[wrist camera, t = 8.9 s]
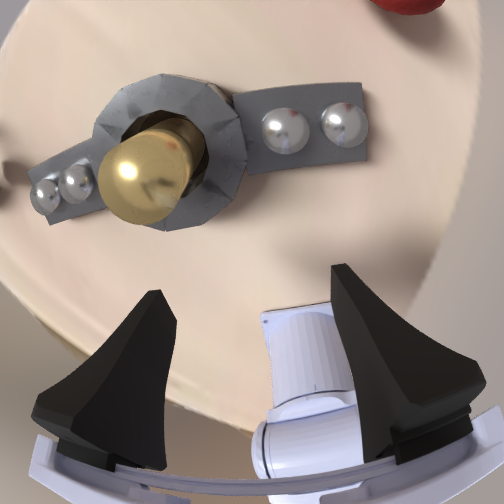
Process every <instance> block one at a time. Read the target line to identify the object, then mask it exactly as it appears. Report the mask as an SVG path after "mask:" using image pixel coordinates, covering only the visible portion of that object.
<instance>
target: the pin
mask: <svg viewBox="0 0 504 504" xmlns="http://www.w3.org/2000/svg"><path fill="white" fill-rule="evenodd" d="M203 154H204V139H203V136H202V134H201V132H200V131H199V129H198V128H197V127H196V126H195V125H194V124H193V123H191V122H189V121H187V120H185V119H181V118H170V119H166V120H164V121H162V122H160V123H158V124H156V125H154V126H152V127H150V128H148V129H146V130H144V131H142V132H140V133H138V134H137V135H135V136H133V137H131V138H129V139H128V140H126V141H124V142H122V143H121V144H119V145H117V146H116V147H114V148H113V149H111V150H110V151H109V152H108V153H107V155H106V156H105V157H104V159H103V161H102V163H101V165H100V168H99V172H98V187H99V191H100V194H101V197H102V199H103V201H104V203H105V204H106V206H107V207H108V208H109V210H110V211H111V212H112V213H113V214H115V215H116V216H117V217H119V218H120V219H122V220H124V221H126V222H129V223H132V224H137V225H149V224H153V223H156V222H159V221H161V220H163V219H164V218H165V217H167V216H168V215H169V214H170V213H171V212H172V210H173V209H174V207H175V206H176V204H177V202H178V200H179V198H180V196H181V194H182V193H183V191H184V189H185V187H186V185H187V184H188V182H189V180H190V178H191V176H192V175H193V173H194V171H195V169H196V168H197V166H198V164H199V163H200V161H201V159H202V157H203Z"/></svg>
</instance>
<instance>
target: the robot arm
mask: <svg viewBox="0 0 504 504" xmlns="http://www.w3.org/2000/svg"><path fill="white" fill-rule="evenodd" d="M260 320H261V324H262V328H263V333H264V337H265V341H266V345H267V349H268V353H269V357H270V361H271V377H272V395H273V409H270V410H267V420H266V421H262V422H261V423H260V424H259V425H258V427H257V429H256V430H255V432H254V434H253V438H252V460H253V465H254V469H255V471H256V474H257V475H258V477H259V478H260V479H211V478H197V477H186V476H178V475H170V474H163V473H158V472H152V471H146V470H141V469H137V468H142V469H145V468H146V469H151V470H158V471H162V470H164V469H165V468H166V467H167V462H166V454H165V443H164V404H165V390H166V384H167V378H168V374H169V369H170V364H171V359H172V355H173V350H174V345H175V339H176V327H177V320H176V318H175V316H174V314H173V312H172V311H171V309H170V307H169V305H168V303H167V301H166V299H165V297H164V295H163V293H162V291H161V289H160V290H151V291H148V292H147V293H146V294H145V295H144V296H143V298H142V299H141V300H140V301H139V302H138V304H137V305H136V306H135V307H134V308H133V310H132V311H131V312H130V313H129V315H128V316H127V317H126V318H125V319H124V321H123V322H122V323H121V324H120V326H119V327H118V328H117V329H116V330H115V331H114V332H113V334H112V335H111V336H110V337H109V338H108V339H107V340H106V342H105V343H104V344H103V345H102V346H101V347H100V348H99V349H98V350H97V351H96V352H95V353H94V354H93V355H92V356H91V357H90V358H89V359H88V360H86V361H85V362H84V363H83V364H82V365H81V366H79V367H78V368H77V369H76V370H75V371H73V372H72V373H71V374H70V375H68V376H67V377H66V378H65V379H63V380H61V381H60V382H58V383H57V384H55V385H54V386H52V387H50V388H49V389H47V390H45V391H44V392H42V393H40V394H39V395H38V397H37V400H36V403H35V405H34V408H33V412H32V414H31V418H32V419H33V421H35V422H36V423H37V424H39V425H40V426H41V427H43V428H45V429H46V430H47V431H49V432H51V433H52V434H54V435H55V436H57V437H59V442H56V441H54V440H52V439H50V438H47V437H45V436H43V435H41V434H38V437H37V440H36V444H35V448H34V452H33V456H32V460H31V464H30V470H29V476H31V477H32V478H33V479H35V480H37V481H39V482H40V483H42V484H43V485H45V486H46V487H48V488H49V489H51V490H52V491H54V492H56V493H57V494H59V495H60V496H62V497H63V498H65V499H66V500H68V501H70V502H71V503H73V504H190V501H191V500H190V499H188V498H182V497H177V496H172V495H168V494H163V493H158V492H153V491H150V489H149V487H148V486H151V487H156V488H162V489H168V490H174V491H181V492H188V493H197V494H208V495H224V496H268V497H269V501H270V503H272V504H442V503H444V502H445V501H447V500H449V499H451V498H452V497H454V496H455V495H457V494H459V493H460V492H462V491H464V490H465V489H467V488H468V487H470V486H471V485H473V484H474V483H476V482H477V481H479V480H480V479H482V478H483V477H485V476H486V475H488V474H489V473H490V472H492V471H493V470H495V469H496V468H497V467H499V466H500V465H501V464H503V463H504V418H503V415H502V412H501V410H500V407H499V405H498V404H496V405H494V406H493V407H491V408H489V409H488V410H486V411H484V412H483V413H481V414H479V415H477V416H476V417H474V418H473V419H471V420H470V417H469V413H471V407H470V405H469V404H470V403H471V402H472V400H474V399H475V398H476V397H477V396H478V395H479V393H481V392H482V390H483V389H484V388H485V386H486V380H485V378H484V375H483V373H482V371H481V369H480V367H479V365H478V363H477V362H476V361H475V360H472V359H470V358H468V357H466V356H463V355H461V354H459V353H457V352H455V351H452V350H451V349H449V348H447V347H445V346H443V345H441V344H440V343H438V342H436V341H435V340H433V339H431V338H430V337H428V336H426V335H425V334H424V333H422V332H420V331H419V330H417V329H416V328H414V327H413V326H412V325H410V324H409V323H408V322H406V321H405V320H404V319H403V318H401V317H400V316H399V315H398V314H397V313H395V312H394V311H393V310H392V309H391V308H390V307H389V306H387V305H386V304H385V303H384V302H383V301H382V300H381V299H380V298H379V297H378V296H377V295H376V294H375V293H374V292H373V291H372V290H371V289H370V288H369V287H368V286H367V285H366V284H365V283H364V282H363V281H362V280H361V279H360V278H359V277H358V276H357V275H356V274H355V273H354V271H353V270H352V269H351V268H350V267H349V266H348V265H347V264H346V263H344V264H338V265H332V266H331V302H328V303H322V304H316V305H310V306H304V307H297V308H291V309H284V310H277V311H269V312H263V313H261V314H260ZM348 362H349V363H348ZM349 365H350V367H349ZM350 369H351V371H350ZM351 372H352V375H351ZM352 377H353V379H352ZM353 382H354V383H353Z"/></svg>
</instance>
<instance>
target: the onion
mask: <svg viewBox="0 0 504 504" xmlns="http://www.w3.org/2000/svg"><path fill="white" fill-rule="evenodd" d="M371 1H372V2H374V3H376V4H377V5H379V6H380V7H382V8H383V9H385V10H387V11H391V12H394V13H398V14H401V15H420V14H426V13H429V12H431V11H433V10H434V9H436V8H438V7H440V6H441V5H442V4H443V3H444V1H445V0H371Z"/></svg>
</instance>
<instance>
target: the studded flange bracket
mask: <svg viewBox="0 0 504 504" xmlns="http://www.w3.org/2000/svg"><path fill="white" fill-rule="evenodd" d="M232 97H233V102H234V104H233V103H232V102H231V101H230V100H229V99H228V98H227V96H226V95H225V94H224V93H223V92H222V91H221V90H220V89H219V88H218V87H217V86H216V85H215V84H213V83H209V82H206V81H202V80H198V79H193V78H189V77H185V76H180V75H174V74H158V75H155V76H153V77H150V78H147V79H144V80H141V81H139V82H136V83H134V84H131V85H128V86H126V87H124V88H121V89H120V90H119V91H118V92H117V94H116V95H115V96H114V97H113V98H112V100H111V101H110V102H109V103H108V105H107V106H106V107H105V109H104V110H103V111H102V112H101V114H100V115H99V116H98V118H97V119H96V122H95V123H94V129H93V135H92V138H90V139H88V140H86V141H84V142H82V143H79V144H77V145H75V146H73V147H71V148H69V149H67V150H65V151H63V152H61V153H59V154H57V155H55V156H53V157H51V158H50V159H48V160H46V161H44V162H42V163H41V164H39V165H37V166H36V167H34V168H32V169H31V170H29V171H27V173H28V176H29V179H30V181H31V184H32V186H33V187H32V189H31V192H30V199H31V203H32V205H33V207H34V209H35V210H36V211H37V212H38V213H40V214H41V215H45V217H46V219H47V221H48V223H49V225H53V224H56V223H59V222H62V221H65V220H68V219H71V218H74V217H77V216H80V215H84V214H87V213H90V212H93V211H97V210H100V209H103V208H107V206H106V204H105V203H104V201H103V199H102V197H101V194H100V191H99V187H98V172H99V168H100V165H101V163H102V161H103V159H104V157H105V156H106V155H107V153H108V152H109V151H110V150H111V149H113V148H114V147H116V146H117V145H119V144H121V143H122V142H124V141H126V140H128V139H129V138H131V137H133V136H135V135H137V134H138V133H139V129H140V126H141V125H142V124H143V123H144V122H145V121H146V120H147V118H148V117H149V116H150V115H151V114H152V113H153V112H155V111H158V110H165V111H169V112H173V113H177V114H181V115H185V116H187V117H188V118H189V119H190V120H191V121H192V122H193V123H194V124H195V125H196V126H197V127H198V128H199V129H200V131H201V132H202V133H203V134H204V136H205V141H206V145H207V149H208V153H209V157H210V160H209V163H208V166H207V169H206V170H205V171H204V172H203V173H202V174H200V175H199V176H198V177H197V178H196V179H195V180H192V181H189V182H188V184H187V185H186V187H185V189H184V191H183V193H182V194H181V196H180V198H179V200H178V202H177V204H176V206H175V207H174V209H173V210H172V212H171V213H170V214H169V215H168V216H167V217H165V218H164V219H163V220H161V221H159V222H156V223H153V224H149V225H144V226H147V227H151V228H154V229H157V230H161V231H164V232H165V230H166V232H167V231H173V230H178V229H183V228H189V227H194V226H200V225H202V224H204V223H206V222H207V221H208V220H209V219H211V218H212V217H213V216H214V215H215V214H217V213H218V212H219V211H220V210H222V209H223V208H224V207H225V206H227V205H228V204H229V203H230V202H231V201H232V200H233V199H234V197H235V194H236V191H237V188H238V186H239V183H240V180H241V178H242V175H243V172H244V170H245V167H246V166H247V171H248V175H253V174H259V173H265V172H271V171H278V170H285V169H292V168H299V167H307V166H315V165H324V164H333V163H343V162H354V161H366V160H367V147H366V136H367V133H368V129H369V124H368V119H367V117H366V115H365V113H364V102H363V92H362V84H361V83H359V82H334V83H315V84H302V85H291V86H282V87H274V88H267V89H260V90H253V91H247V92H242V93H236V94H233V95H232Z"/></svg>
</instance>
